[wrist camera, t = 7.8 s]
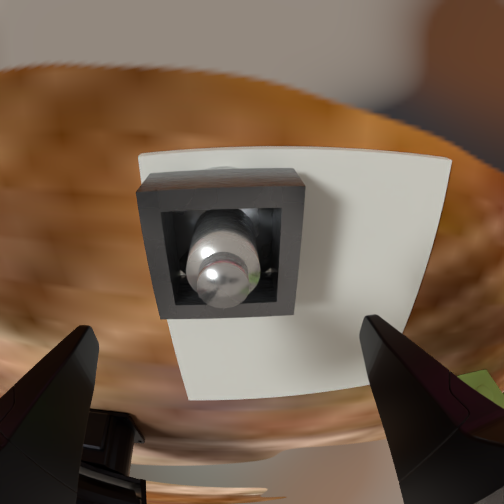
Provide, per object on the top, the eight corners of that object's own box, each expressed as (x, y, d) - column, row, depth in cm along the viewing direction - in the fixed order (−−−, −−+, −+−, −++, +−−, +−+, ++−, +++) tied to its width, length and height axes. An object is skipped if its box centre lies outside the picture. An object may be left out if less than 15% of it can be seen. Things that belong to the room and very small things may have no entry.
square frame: (286, 284, 18) (293, 314, 15) (167, 288, 17) (160, 319, 15) (293, 168, 14) (305, 185, 12) (149, 173, 14) (135, 192, 12)
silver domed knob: (283, 274, 18) (299, 340, 14) (171, 279, 18) (157, 346, 13) (287, 164, 15) (314, 207, 10) (155, 170, 15) (124, 214, 10)
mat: (378, 377, 26) (380, 382, 25) (189, 394, 25) (188, 400, 24) (446, 157, 16) (451, 160, 15) (141, 153, 15) (138, 156, 14)
